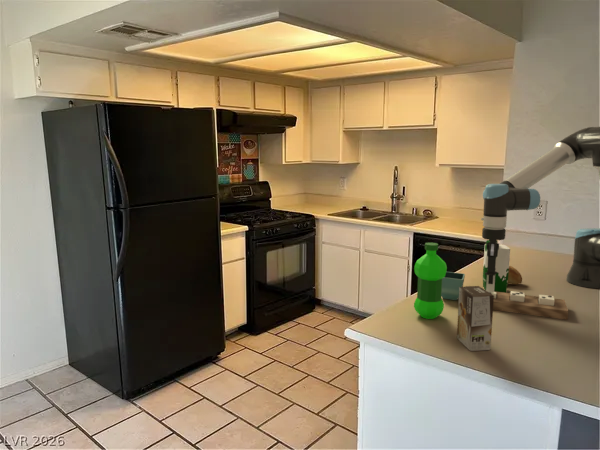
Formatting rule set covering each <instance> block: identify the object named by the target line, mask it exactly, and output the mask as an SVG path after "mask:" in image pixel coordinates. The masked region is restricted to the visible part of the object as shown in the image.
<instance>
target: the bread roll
mask: <svg viewBox="0 0 600 450" xmlns="http://www.w3.org/2000/svg"><path fill="white" fill-rule="evenodd" d="M521 283H523V276H522V274H521V273H520V272H519V271H518V269H517V268H515V267H513V266H511V265H509V274H508V284H507V285H513V286H515V285H520V284H521Z"/></svg>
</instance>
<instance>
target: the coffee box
mask: <svg viewBox="0 0 600 450" xmlns="http://www.w3.org/2000/svg"><path fill="white" fill-rule="evenodd" d="M493 302H494V295H492V294H491V293H489V292H487V291H486V290H485V289H484V288H483V287H481V286H479V285H469V286H467V285H466V286H463V287H459V298H458V308H457V309H458V310H457V324H456V325H457V327H456V328H457V329H456V330H457V331H456V339H457V340H458V341H459V342H460V343H461V344H462V345H463V346H464V347H466V349H467V350H469V351H470V352H475V351H476V352H477V351H490V350H491V345H492V344H491V343H492V332H493V331H492V330H493V329H492V328H493V316H494V314H493V313H494V310H493Z"/></svg>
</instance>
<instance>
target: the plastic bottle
mask: <svg viewBox="0 0 600 450" xmlns="http://www.w3.org/2000/svg"><path fill="white" fill-rule="evenodd" d="M424 250H425V251H426V252H425V254H424V255H422V256H421V257H420V258H418V259H417V260H416V262H415V263H414V268H413V270H414V274H415V275H416V277H417V288H416V289H417V292H416V293H417V294H416V298H415V300H414V303H413V308H414V310H415V312H416V313H418V315H420V317H421V318H423V319H428V320H434V319H436V318H438V317H439V316H441V314H442V313H443V311H444V308H445V302H444V300H443V298H442V296H441V295H442V279H443V278H444V277H445V275H446V272H448V271H447V269H448V267H447V263H446V262H445V260H443V258H442V257H440V256H439V255H438V254H437V251H439V243H437V242H425V243H424Z"/></svg>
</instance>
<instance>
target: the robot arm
mask: <svg viewBox="0 0 600 450" xmlns="http://www.w3.org/2000/svg"><path fill="white" fill-rule="evenodd" d="M584 159H591V161H592V167H594V168H595V169H597V170H598V176H599V177H598V178H599V180H600V126H589V127H585V128H581V129H579V130H577V131H575V132H573V133H572V134H570V135H568V136H566V137H564V138H562V139H561V140H560V141H558V142H557V143H555V144H554V146H553V148H552V149H551V150H549V151H547V152H545V153H544V154H543V155H542V156H540V157H538V158H537V159H535V160H534V161H532V162H531V163H529V164H527V165H525V166H524V167H523V168H521V169H520V170H519V171H516V173H513V174H512V175H510V176H509V177H507V178H506V179H504V180H503V181H501V182H499V183H488V184H486V185H485V189H483V192H482V198H483V215H482V216H483V217H481V219H480V220H481V221H483V222H482V226H483V228H482V229H481V230H482V231H481V232H482V235H481V237H482V238H483V239H484V240H490V242H489V243H487V256H488V269H487V273H486V272H485V275H487V282H486V291H487V292H492V293H494V287H495V274H497V272H496V271H495V270H496V268H495V266H496V257H497V256H498V250H499V245H500V243H498V241H502V240H505V239H506V228H507V221H508V220H507V219H508V218H507V215H508V211H531V210H535V209H537V208H538V207H539V206H540V204H541V194H540V192H539V191H538V190H537V189H535V188H531V187H532V186H535V185H536V184H537V183H539V182H540V181H542V180H543V179H545V178H546V177H548V176H550V175H551V174H553V173H554V172H556V171H558V170H559V169H561V168H562V167H564V166H566V165H571V164H574V162H576V161H579V160H584ZM573 246H574V247H573V248H574V249H573V260H572V264H571V267H570V269H568V270H569V271H568V273H567V274H566V282H568V283H569V284H572V285H575V286H579V287H583V288H592V289H600V228H599V227H598V228H594V227H593V228H592V227H589V228H579V229H578V230H577V231H576V232H575V237H574V245H573Z"/></svg>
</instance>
